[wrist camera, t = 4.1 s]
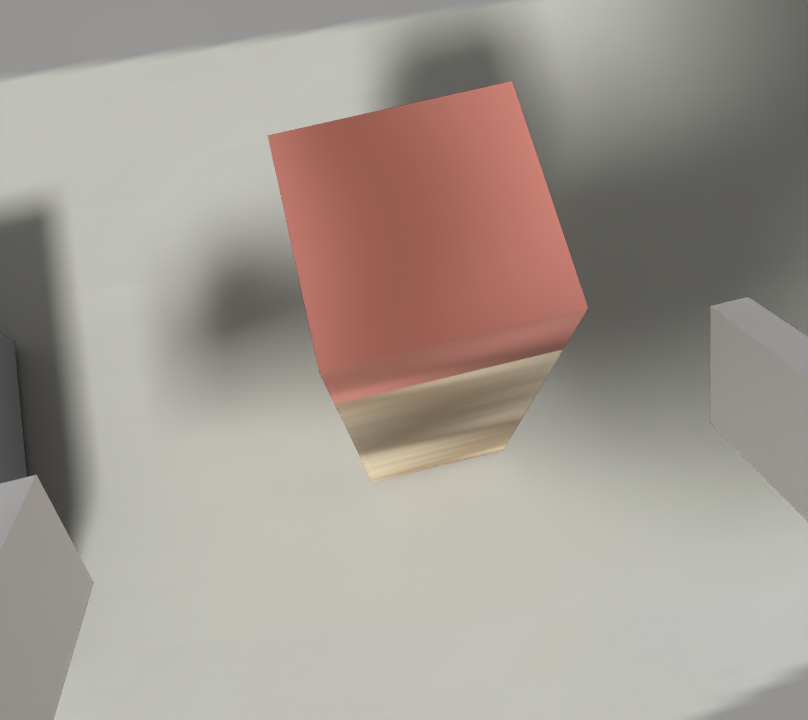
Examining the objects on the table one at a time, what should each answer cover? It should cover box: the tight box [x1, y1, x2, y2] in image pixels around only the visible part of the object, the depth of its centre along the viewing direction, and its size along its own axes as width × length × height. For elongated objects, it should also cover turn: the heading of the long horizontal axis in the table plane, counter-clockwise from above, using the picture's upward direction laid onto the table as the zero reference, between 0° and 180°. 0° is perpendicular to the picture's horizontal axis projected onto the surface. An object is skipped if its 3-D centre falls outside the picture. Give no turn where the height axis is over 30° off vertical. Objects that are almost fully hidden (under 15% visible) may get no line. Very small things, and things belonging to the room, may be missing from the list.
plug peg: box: [268, 81, 588, 482], centre depth 17 cm, size 4×4×12 cm
